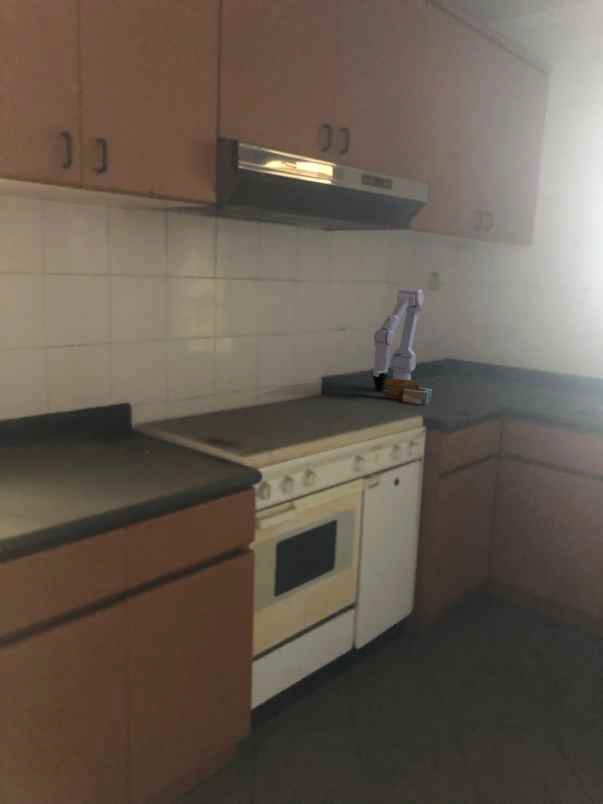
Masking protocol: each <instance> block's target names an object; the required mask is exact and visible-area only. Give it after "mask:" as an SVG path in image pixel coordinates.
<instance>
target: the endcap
mask: <svg viewBox="0 0 603 804" xmlns="http://www.w3.org/2000/svg"><path fill="white" fill-rule="evenodd" d="M432 394H433V389H432V388H425V387H420V386H419V391H417V390H409V389H404V393H403V400H402V403H407V402H408V404H413V405H414V404H415V405H416V404H417V405H422V406H427V405H428V404H430V403H431V402H432Z"/></svg>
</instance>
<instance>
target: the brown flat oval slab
mask: <svg viewBox="0 0 603 804" xmlns="http://www.w3.org/2000/svg"><path fill="white" fill-rule="evenodd" d="M419 387H420V386H419V384H418V383H417V382H416V381H415V380H413V379H411V380H404V379H395V378H393V377H391V378H388V379H386V380H385V382H384V384H383V386H382V394H383V395H384V396H385V397H386V398H388V399H390V398H392V399H393V400H399V399H400V401H401V400H402V401H403V393H404V389H409V390H417V391H419ZM392 399H391V400H392Z"/></svg>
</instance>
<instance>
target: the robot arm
mask: <svg viewBox="0 0 603 804" xmlns="http://www.w3.org/2000/svg"><path fill="white" fill-rule="evenodd" d="M396 299H397V300H396V301H397V302H396V304H395V306H394V308H393V311H392V313H391V314H390V315H388V316H386V319H385V320H384V321H383V323H382V326H381V327H380V328H379V329H377V330H376V331H375V333H374V335H373V342H374V347H375V352H374V363H373V364H374V365H373V367H372V368H370V371H373V374H372V378H373V381H374V388H375V392H376V393H377V392H378V393H381V392H383V390H382V386H383V384H384V382H385V381H386V380H387V378H388V377H389V375H388V374H386V373H388V372H389V364H390V367H391V369H392V371H393V374H392V375H393V376H392V378H395V379H404V380H412V375H411V373H412V372H413V371H414V370H415V369H416V365H417V355H416V353H415V352H414V350H413V349H412V348H413V345H414V344H413V342H414V338H415V333H416V327H417V324H418V319H419V313H420V311H422V308H423V305H424V300H425V295H424V292H423V290H422V289H409V288H403V287H401V288H399V290H398V292H397V294H396ZM405 311H406V314H405V319H404V323H403V328H402V334H401V339H400V344H399V347H398V348H396V349H395V350H394V351H393V352H392V353H393V354H392V357H391V358H390V351H391V345H392V344H393V342H394V340H395V333H396V331H397V328H398V327H399V325H400V323H401V322H400V318H401V317H402V316H403V314H404V313H405ZM389 360H390V363H389Z"/></svg>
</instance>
